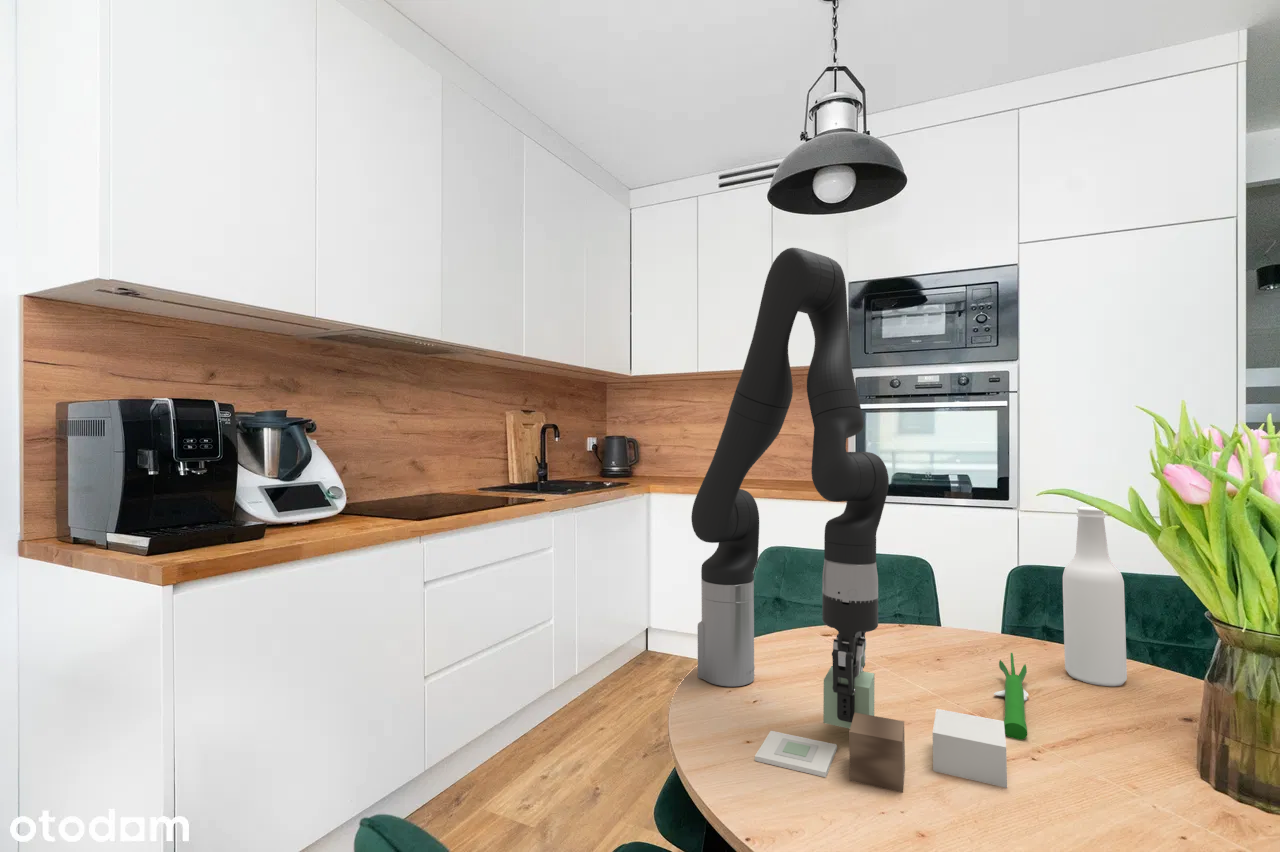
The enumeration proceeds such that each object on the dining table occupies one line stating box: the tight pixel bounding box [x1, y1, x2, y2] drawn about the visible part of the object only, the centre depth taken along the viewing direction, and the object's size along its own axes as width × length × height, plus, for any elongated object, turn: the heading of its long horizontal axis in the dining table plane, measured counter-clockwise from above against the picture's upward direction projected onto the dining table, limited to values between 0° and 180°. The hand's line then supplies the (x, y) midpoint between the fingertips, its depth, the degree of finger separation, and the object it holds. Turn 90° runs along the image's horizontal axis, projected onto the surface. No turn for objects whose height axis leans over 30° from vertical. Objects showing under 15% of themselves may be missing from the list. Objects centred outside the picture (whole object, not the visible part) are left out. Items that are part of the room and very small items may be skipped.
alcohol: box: [1062, 506, 1128, 687], centre depth 108 cm, size 9×9×30 cm
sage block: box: [822, 665, 875, 730], centre depth 87 cm, size 6×6×6 cm
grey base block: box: [932, 708, 1008, 789], centre depth 79 cm, size 8×8×5 cm
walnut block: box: [848, 713, 906, 793], centre depth 76 cm, size 6×6×6 cm
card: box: [754, 730, 838, 778], centre depth 81 cm, size 9×8×1 cm
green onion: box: [993, 651, 1030, 741], centre depth 99 cm, size 5×3×30 cm
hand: (849, 710), depth 87 cm, fingers closed on sage block, 6 cm apart
